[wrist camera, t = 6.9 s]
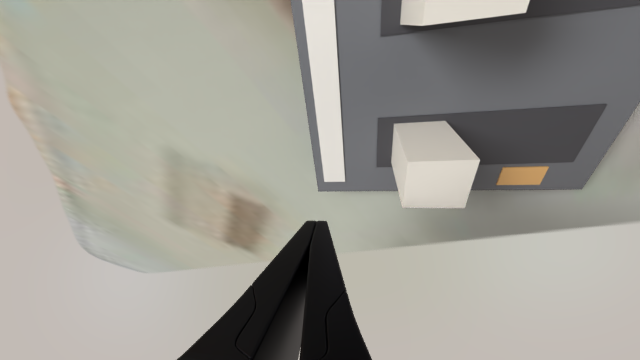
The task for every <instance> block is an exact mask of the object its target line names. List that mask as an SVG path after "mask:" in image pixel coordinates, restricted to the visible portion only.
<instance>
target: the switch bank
mask: <svg viewBox="0 0 640 360" xmlns="http://www.w3.org/2000/svg"><path fill="white" fill-rule="evenodd" d="M401 5H402V0H291V6H292V13H293V20H294V27H295V34H296V40H297V47H298V54H299V61H300V68H301V75H302V82H303V89H304V95H305V102H306V109H307V116H308V123H309V130H310V137H311V144H312V150H313V157H314V164H315V171H316V178H317V185H318V191H398V188H397V184H396V180H395V176H394V171H393V167H392V163H391V158H392V145H393V131H394V124H398V123H415V122H432V121H446V122H447V123H448V124H449V125H450V126H451V128H452V129H453V130H454V131H455V132H456V133H457V134H458V135H459V137H460V138H461V139H462V140H463V141H464V142H465V143H466V144H467V145H468V147H469V148H470V149H471V150H472V151H473V152H474V153H475V154H476V156H477V157H478V158H479V159H480V162H479V165H478V168H477V171H476V174H475V178H474V181H473V184H472V187H471V190H554V189H582V188H583V187H584V185H585V184H586V182H587V181H588V179H589V178H590V176H591V175H592V173H593V172H594V170H595V169H596V167H597V166H598V164H599V163H600V161H601V160H602V158H603V157H604V155H605V154H606V152H607V151H608V149H609V148H610V146H611V145H612V143H613V142H614V140H615V139H616V137H617V136H618V134H619V133H620V131H621V130H622V128H623V127H624V125H625V123H626V122H627V120H628V119H629V117H630V116H631V114H632V113H633V111H634V110H635V108H636V107H637V105H638V104H639V102H640V0H530V1H529V4H528V7H527V11H526V13H520V14H512V15H504V16H497V17H489V18H481V19H473V20H465V21H457V22H449V23H441V24H433V25H426V26H416V25H400V20H401Z"/></svg>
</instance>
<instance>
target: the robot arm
mask: <svg viewBox="0 0 640 360" xmlns="http://www.w3.org/2000/svg"><path fill="white" fill-rule="evenodd" d="M300 347H301V351H300ZM299 351H300V360H372V359H371V356H370V354H369V352H368V349H367V347H366V345H365V342H364V340H363V338H362V335H361V333H360V330H359V328H358V325H357V322H356V320H355V317H354V314H353V311H352V308H351V305H350V302H349V298H348V294H347V292H346V288H345V284H344V281H343V277H342V273H341V270H340V267H339V263H338V260H337V256H336V252H335V249H334V245H333V241H332V238H331V234H330V231H329V227H328V224H327V221H306V222H305V223H304V225H303V226H302V227H301V228H300V229H299V230H298V231H297V233H296V234H295V235H294V236H293V237H292V238H291V240H290V241H289V242H288V243H287V244H286V245H285V247H284V248H283V249H282V250H281V251H280V252H279V253H278V255H277V256H276V257H275V258H274V259H273V260H272V262H271V263H270V264H269V265H268V266H267V267H266V268H265V270H264V271H263V272H262V273H261V274H260V275H259V277H258V278H257V279H256V280H255V281H254V282H253V284H252V286H250V287H249V288H248V289H247V290H246V292H245V293H244V294H243V295H242V296H241V297H240V298H239V299H238V300H237V302H236V303H235V304H234V305H233V306H232V307H231V308H230V309H229V310H228V311H227V312H226V313H225V314H224V315H223V316H222V317H221V318H220V319H219V320H218V321H217V322H216V323H215V324H214V325H213V326H212V327H211V328H210V329H209V330H208V331H207V332H206V333H205V334H204V335H203V336H202V337H201V338H200V339H198V340H197V341H196V343H194V344H193V345H192V346H191V347H190V348H189V349H188V350H187V351H186V352H185V353H184V354H183V355H182V356H181V357H179V358H178V359H177V360H298V356H299Z"/></svg>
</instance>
